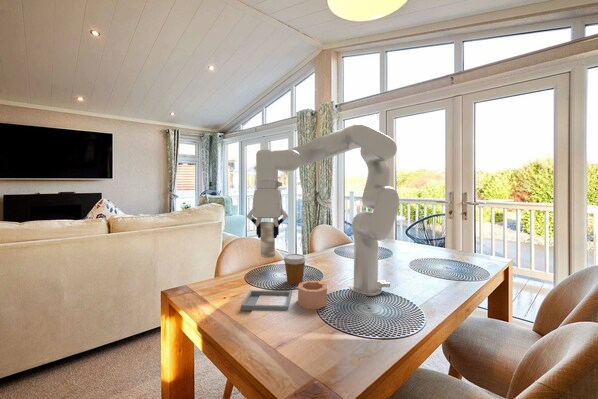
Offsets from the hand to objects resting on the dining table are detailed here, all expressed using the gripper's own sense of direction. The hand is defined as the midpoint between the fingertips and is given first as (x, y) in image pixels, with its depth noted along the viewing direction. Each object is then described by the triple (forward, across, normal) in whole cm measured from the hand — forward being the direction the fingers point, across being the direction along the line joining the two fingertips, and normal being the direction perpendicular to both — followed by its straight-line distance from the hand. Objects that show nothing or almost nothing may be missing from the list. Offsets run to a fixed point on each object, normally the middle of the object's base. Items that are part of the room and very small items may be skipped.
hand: (267, 236), depth 100 cm
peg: (+7, 0, 0) cm, 7 cm away
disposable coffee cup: (+25, -8, -20) cm, 33 cm away
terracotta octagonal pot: (+24, -16, 0) cm, 29 cm away
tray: (+25, 0, 0) cm, 25 cm away
